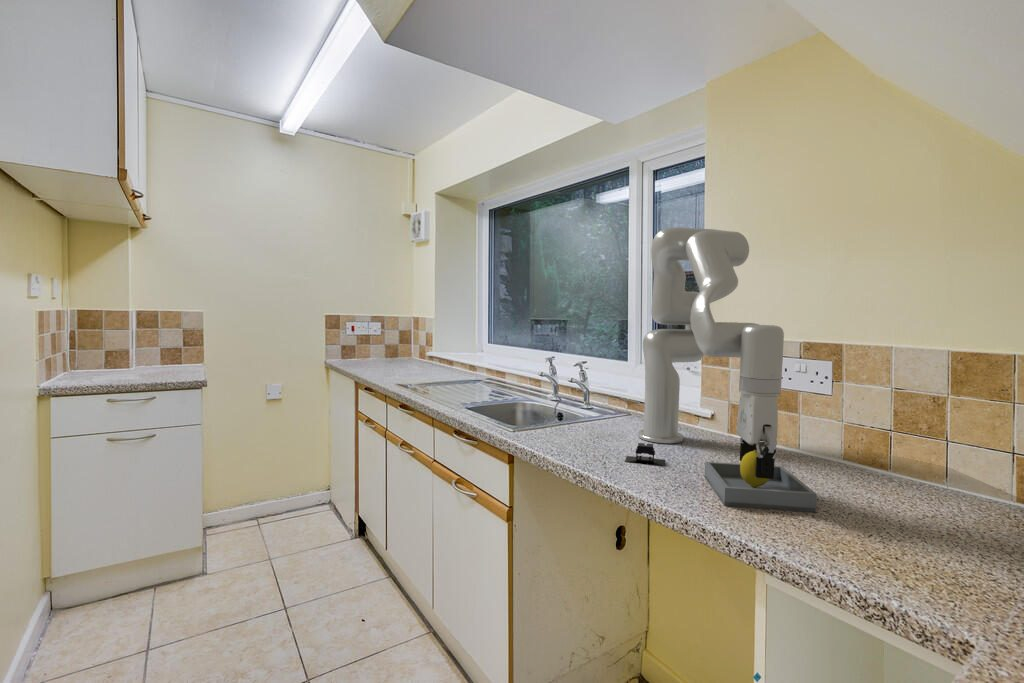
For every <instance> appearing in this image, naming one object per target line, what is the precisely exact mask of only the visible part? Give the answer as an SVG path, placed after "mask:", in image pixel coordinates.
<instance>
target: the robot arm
mask: <svg viewBox="0 0 1024 683" xmlns="http://www.w3.org/2000/svg"><path fill="white" fill-rule="evenodd" d="M749 255H750V245H749V242H748V240H747V237H746V236H744V235H743V234H742V233H741V232H739V231H730V230H722V229H715V228H714V229H713V228H693V227H669V228H663V229H661V230H659V231H658V232H657V233H656V234H655V236H654V238H653V240H652V242H651V248H650V257H651V263H652V269H653V285H652V294H651V295H652V297H651V307H650V308H651V310H650V311H651V313H650V314H651V318H652V320H653V321H654V323H656V324H659V325H669V326H670V325H671V326H674V325H675V326H676V325H677V326H679V325H680V326H684V327H685V328H684V329H683V328H682V329H681V328H680V329H677V328H675V329H674V328H658V329H652V330H650V331H648V332H646V334H645V335H644V337H643V339H642V350H643V352H642V353H643V357H644V372H645V374H644V376H645V377H644V378H645V379H644V383H645V385H644V406H643V412H644V413H643V417H644V418H643V429H641V430H639V431H638V432H637V436H638V438H640V440H644V441H646V442H652V443H656V444H678V443H682V442H683V441H684V435H683V434H682V433H680V432H679V414H680V413H679V412H680V410H679V408H680V382H681V380H680V375H679V373H678V371H677V370H676V368H675V367H674V365H673V364H674V363H696V362H698V361H701V360H702V358H704V356H706V357H709V358H740V361H739V363H740V364H739V380H738V381H739V384H738V392H739V393H740V395H739V396H740V397H739V400H738V408H737V409H738V410H737V411H738V412H737V420H736V421H737V422H736V434H737V436H739V437H740V439H739V440H740V444H739V445H740V446H739V462H741V460H742V458H743V456H744V455H745V454H747V453H748V452H751V451H754V450H757V453H758V457H756V467H755V476H756V477H757V478H768V479H773V478H774V466H775V462H776V461H775V460H776V453H777V445H778V440H777V439H778V429H779V428H778V425H779V413H778V412H779V411H778V410H779V409H778V408H779V407H778V397H781V395H782V382H783V381H782V380H783V378H782V377H783V360H784V342H785V341H784V338H785V332H784V329H783V328H782V327H781V326H778V325H774V324H773V325H772V324H771V325H770V324H759V323H755V322H736V321H735V322H733V321H730V322H727V321H722V322H721V321H720V322H719V321H717V322H716V321H715V319H714V317H713V314H712V312H711V311H712V310H711V307H710V306H711V304H712V303H715V302H716V301H718V300H719V301H720V300H721V299H723V298H725V297H727V296H729V295H730V294H732V293H734V291H735V290H736V289H737V288H738V286H739V278H738V276H737V273H736V271H735V269H734V267H739V266H742V265H743V264H745V262H746V261H747V259H748V258H749ZM680 261H688V262H689V264H690V267H691V269H692V270H691V271H692V273H693V276H694V278H695V281H696V282H695V283H696V284H697V287H698V290H699V292H698V291H686V280H687V276H686V272H685V270H684V268H683V266H682V264H681V263H680ZM762 448H763V449H762Z"/></svg>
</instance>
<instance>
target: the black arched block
mask: <svg viewBox="0 0 1024 683" xmlns="http://www.w3.org/2000/svg"><path fill="white" fill-rule="evenodd" d="M635 454H636V455H635V456H634V455H633V456H632V455H626V457H625V460H624V463H629V464H637V465H638V464H639V465H646V466H647V465H648V466H655V467H666V466H667V464H666V459H664V458H663V459H662V458H655V456H656V450H655V447H654V444H653V443H646V444H645V443H644V442H638V443H637V445H636V448H635ZM642 454H645V455H649V456H642Z"/></svg>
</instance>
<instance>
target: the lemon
mask: <svg viewBox="0 0 1024 683" xmlns="http://www.w3.org/2000/svg"><path fill="white" fill-rule="evenodd" d="M756 457H758V453H757V450H754V451H751V452H748V453H747V454H745V455H744V456H743V458H742V460H741V461H740V463H739V464H740V473H741V476H742V478H743V480H744V481H745V482H746V483H747V484H749V485H751V487H752V488H757V487H758V486H762V485H764V484H765V483H766V482H767V481H768V480H769V479H768V478H757V477H756V476H755V467H756Z"/></svg>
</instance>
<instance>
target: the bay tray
mask: <svg viewBox="0 0 1024 683" xmlns="http://www.w3.org/2000/svg"><path fill="white" fill-rule="evenodd" d="M740 464H741V463H736V462H735V463H731V462H718V461H717V462H716V461H704V478H705V480H706V482H707V483H708V485H709V486H710V488H711V489H712V490H713V492H714V493H715V495H716V496H717V497H718V499H719V501H720V503H721V504H723V506H725V507H737V508H748V509H749V508H750V509H751V508H752V509H763V510H775V511H776V510H778V511H789V512H790V511H791V512H793V511H794V512H804V513H816V511H817V510H816V508H817V493H816V492H815V491H814V490H812V489H811V488H810V487H809V486H807V485H806V484H805V483H803V482H802V481H801V480H800V479H799V478H798V477H796V476H795V475H794V474H793V473H792V472H790V471H789V470H788V469H786V468H785V467H784V465H783V466H782V465H774V478H773V479H769V480H768V481H767V482H766V483H765V484H764V485H762V486H758V487H757V488H752V487H751V485H749V484H747V483H746V482H745V481H744V480H743V478H742V476H741V473H740Z"/></svg>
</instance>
